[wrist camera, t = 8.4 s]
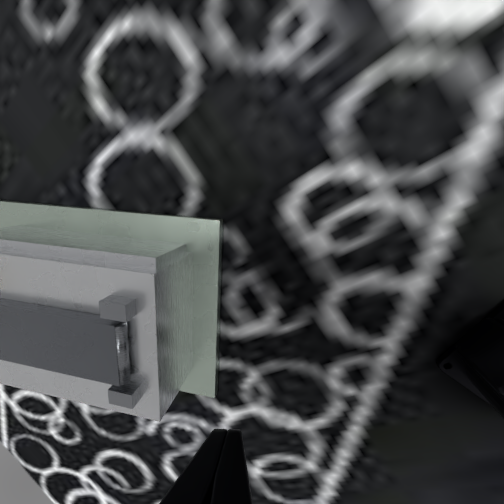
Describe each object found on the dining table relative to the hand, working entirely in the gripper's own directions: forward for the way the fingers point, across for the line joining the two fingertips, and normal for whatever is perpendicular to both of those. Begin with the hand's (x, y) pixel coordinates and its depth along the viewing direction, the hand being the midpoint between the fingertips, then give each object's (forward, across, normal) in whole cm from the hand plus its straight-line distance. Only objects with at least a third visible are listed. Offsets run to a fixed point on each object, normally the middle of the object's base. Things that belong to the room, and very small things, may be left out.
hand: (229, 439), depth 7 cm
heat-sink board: (+13, +13, +1) cm, 18 cm away
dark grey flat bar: (+7, +14, +1) cm, 16 cm away
